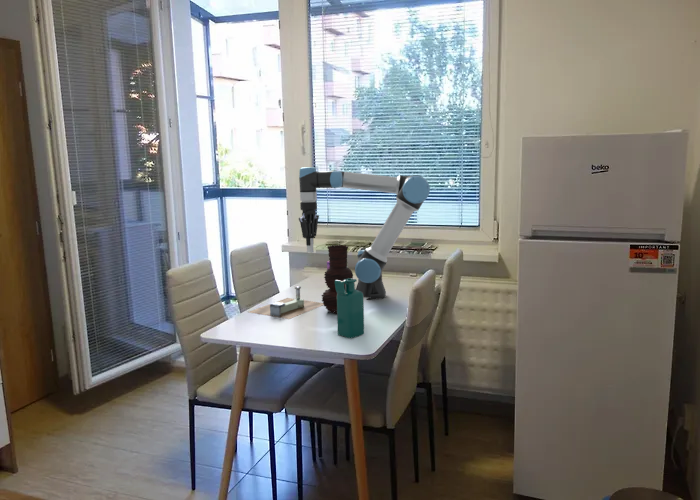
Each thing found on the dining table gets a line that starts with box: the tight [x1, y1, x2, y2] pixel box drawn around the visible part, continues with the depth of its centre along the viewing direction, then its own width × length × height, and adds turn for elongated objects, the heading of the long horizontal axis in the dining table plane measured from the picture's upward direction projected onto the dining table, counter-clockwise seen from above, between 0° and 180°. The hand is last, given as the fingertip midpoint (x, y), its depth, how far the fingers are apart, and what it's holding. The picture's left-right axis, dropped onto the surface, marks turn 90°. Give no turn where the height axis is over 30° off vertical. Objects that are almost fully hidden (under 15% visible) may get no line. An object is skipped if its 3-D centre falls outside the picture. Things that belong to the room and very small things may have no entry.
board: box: [248, 297, 324, 320], centre depth 250 cm, size 23×28×2 cm
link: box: [281, 298, 305, 313], centre depth 246 cm, size 17×5×3 cm, turn 142°
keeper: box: [270, 301, 285, 318], centre depth 238 cm, size 5×4×5 cm
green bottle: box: [335, 277, 365, 339], centre depth 213 cm, size 10×8×22 cm
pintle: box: [294, 285, 302, 300], centre depth 250 cm, size 3×3×6 cm
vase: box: [321, 244, 354, 315], centre depth 241 cm, size 15×15×30 cm
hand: (310, 252), depth 259 cm, fingers closed
